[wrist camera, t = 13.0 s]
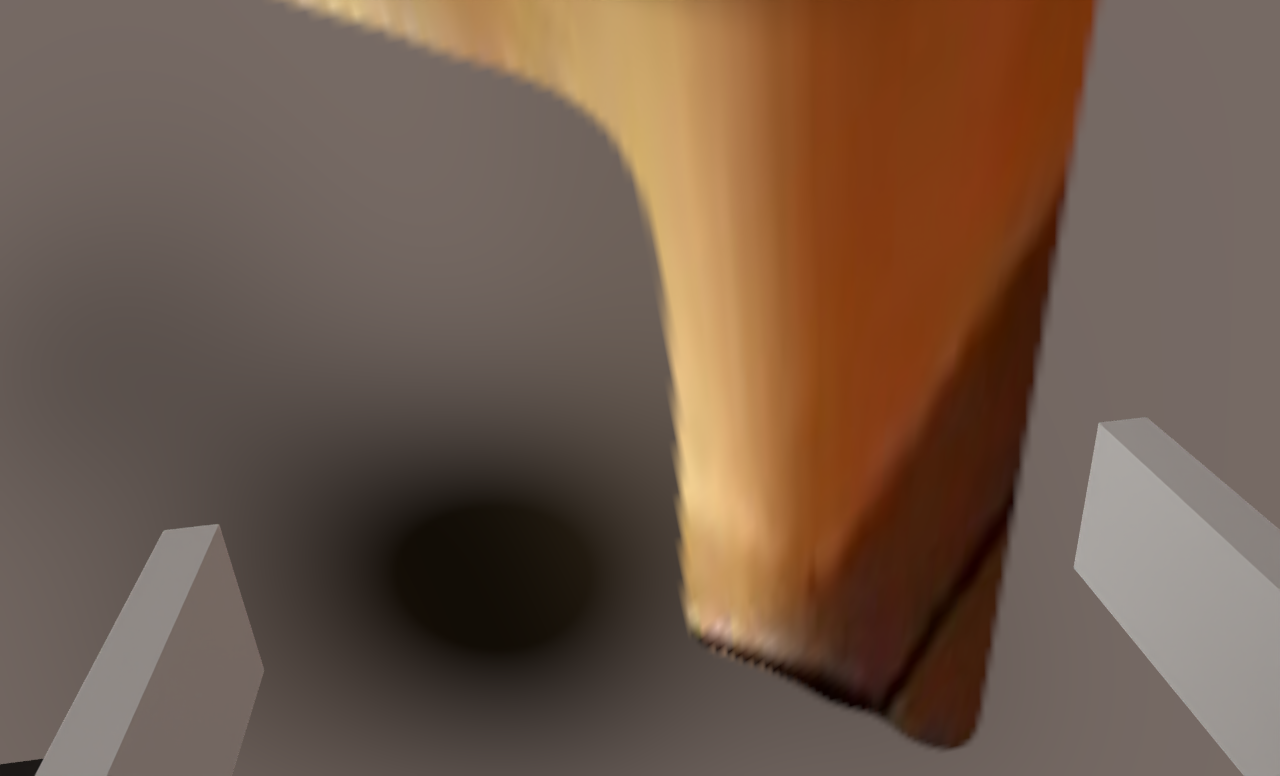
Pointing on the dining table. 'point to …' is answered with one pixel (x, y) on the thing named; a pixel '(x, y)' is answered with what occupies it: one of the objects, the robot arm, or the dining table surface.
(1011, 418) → the dining table surface
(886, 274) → the dining table surface
